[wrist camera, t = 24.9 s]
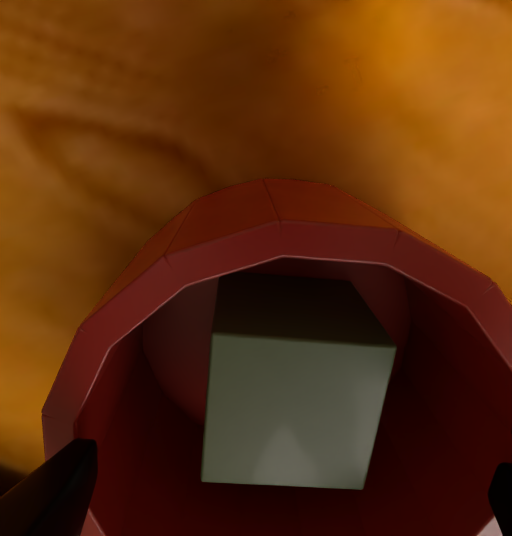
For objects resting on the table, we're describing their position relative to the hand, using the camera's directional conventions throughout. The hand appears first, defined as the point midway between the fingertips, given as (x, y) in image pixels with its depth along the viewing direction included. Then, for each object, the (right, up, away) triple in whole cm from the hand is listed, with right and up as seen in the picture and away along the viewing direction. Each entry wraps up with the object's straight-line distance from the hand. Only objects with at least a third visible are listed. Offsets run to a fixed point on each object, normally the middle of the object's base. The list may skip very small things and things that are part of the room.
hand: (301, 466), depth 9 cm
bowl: (0, +2, +6) cm, 6 cm away
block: (0, +2, +6) cm, 6 cm away
